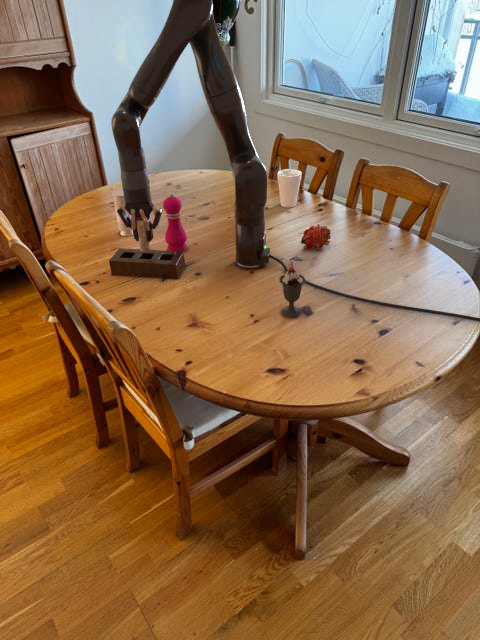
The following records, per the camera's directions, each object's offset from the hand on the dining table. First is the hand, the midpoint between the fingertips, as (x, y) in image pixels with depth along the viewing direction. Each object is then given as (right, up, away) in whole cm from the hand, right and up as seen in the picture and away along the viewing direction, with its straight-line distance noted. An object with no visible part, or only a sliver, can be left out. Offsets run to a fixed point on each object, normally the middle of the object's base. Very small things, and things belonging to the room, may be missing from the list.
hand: (144, 240), depth 140 cm
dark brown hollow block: (0, -8, +6) cm, 10 cm away
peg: (0, -3, +2) cm, 3 cm away
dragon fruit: (+54, 0, +16) cm, 57 cm away
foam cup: (+49, +23, +49) cm, 73 cm away
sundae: (+43, -22, -15) cm, 51 cm away
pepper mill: (+8, -1, +17) cm, 19 cm away
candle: (-12, +8, +30) cm, 34 cm away
